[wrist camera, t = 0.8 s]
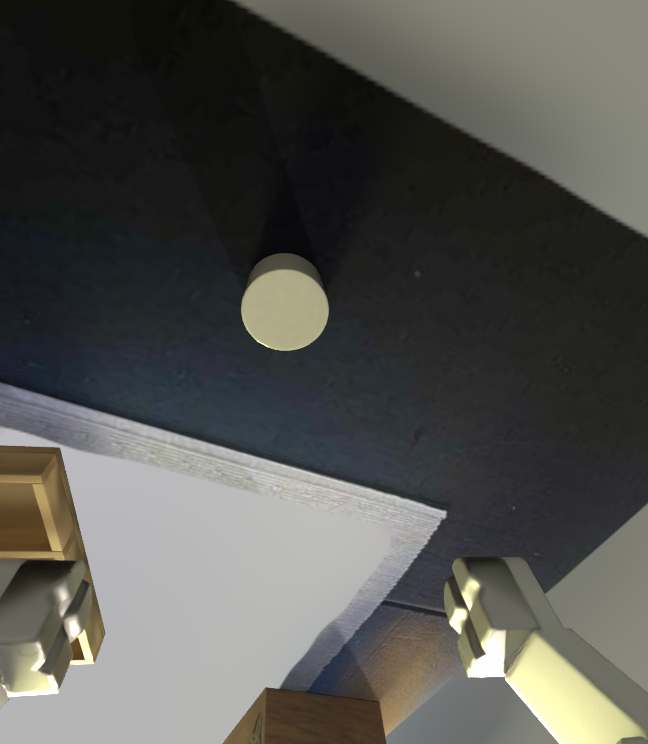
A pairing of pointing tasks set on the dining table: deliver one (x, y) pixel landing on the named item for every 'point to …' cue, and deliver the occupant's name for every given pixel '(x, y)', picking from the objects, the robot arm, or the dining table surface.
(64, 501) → the board
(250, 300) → the white cylinder
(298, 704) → the tissue box cover
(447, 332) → the dining table surface
